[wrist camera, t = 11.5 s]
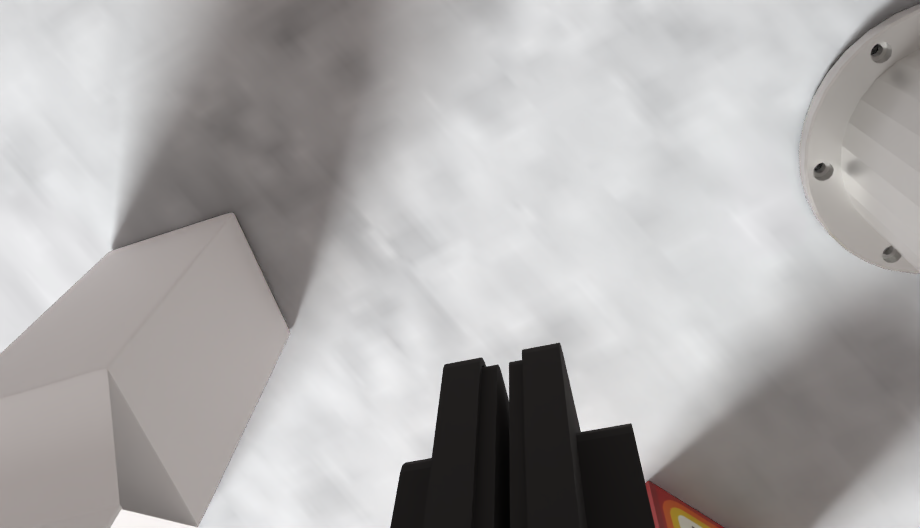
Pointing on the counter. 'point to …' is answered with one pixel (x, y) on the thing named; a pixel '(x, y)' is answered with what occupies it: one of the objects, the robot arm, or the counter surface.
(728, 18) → the counter surface
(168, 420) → the milk carton
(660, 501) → the baking soda box
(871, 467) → the counter surface
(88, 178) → the counter surface
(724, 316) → the counter surface
